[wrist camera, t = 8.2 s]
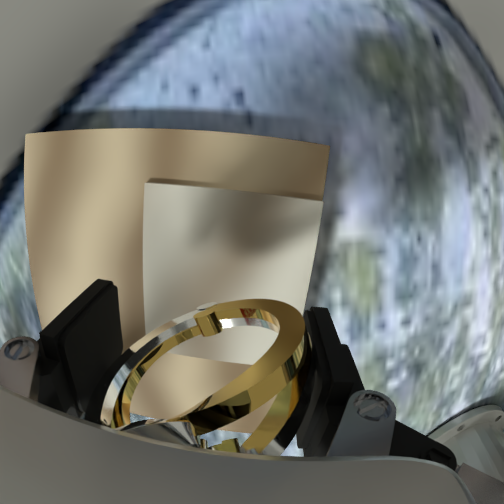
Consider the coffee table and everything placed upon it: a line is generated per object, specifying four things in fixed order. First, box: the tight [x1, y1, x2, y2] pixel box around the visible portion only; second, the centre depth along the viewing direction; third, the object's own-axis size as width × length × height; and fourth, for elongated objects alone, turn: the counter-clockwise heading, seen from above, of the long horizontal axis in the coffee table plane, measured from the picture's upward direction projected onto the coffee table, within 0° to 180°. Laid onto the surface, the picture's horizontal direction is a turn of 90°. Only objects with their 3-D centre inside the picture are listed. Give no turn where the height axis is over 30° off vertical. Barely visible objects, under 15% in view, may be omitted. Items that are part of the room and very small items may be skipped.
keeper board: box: [24, 128, 330, 433], centre depth 16 cm, size 16×18×2 cm
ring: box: [84, 299, 316, 456], centre depth 8 cm, size 7×3×8 cm, turn 108°
